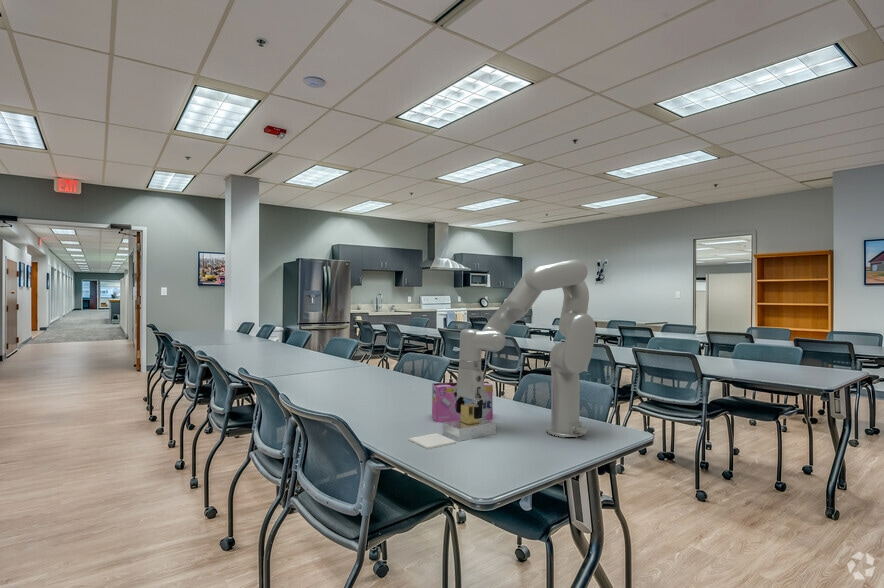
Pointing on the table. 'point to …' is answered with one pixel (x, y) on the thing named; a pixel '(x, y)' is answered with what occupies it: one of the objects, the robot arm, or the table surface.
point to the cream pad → (432, 441)
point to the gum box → (447, 404)
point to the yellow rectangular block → (468, 414)
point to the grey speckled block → (469, 429)
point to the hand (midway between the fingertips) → (468, 415)
